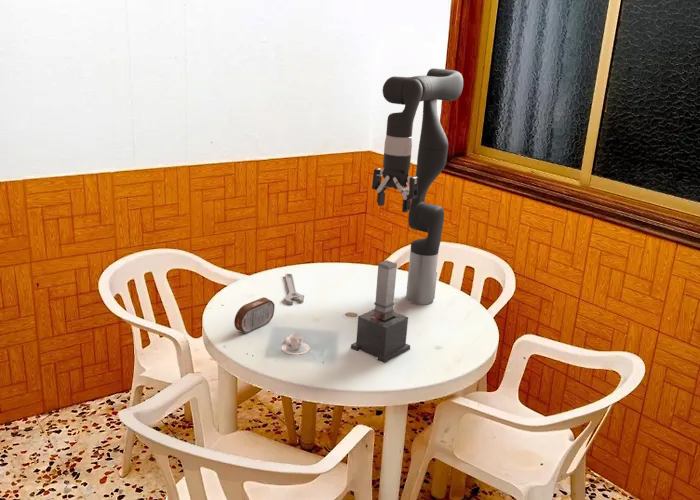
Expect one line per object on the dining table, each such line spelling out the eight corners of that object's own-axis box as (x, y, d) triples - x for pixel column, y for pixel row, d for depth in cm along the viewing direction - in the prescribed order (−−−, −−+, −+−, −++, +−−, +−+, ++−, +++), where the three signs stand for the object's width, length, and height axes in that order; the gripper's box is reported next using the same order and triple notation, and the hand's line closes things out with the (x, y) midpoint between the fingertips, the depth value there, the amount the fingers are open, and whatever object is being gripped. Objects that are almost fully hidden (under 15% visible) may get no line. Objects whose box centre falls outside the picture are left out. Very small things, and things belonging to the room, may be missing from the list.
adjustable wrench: (284, 277, 239) (284, 272, 239) (302, 278, 240) (302, 273, 240) (284, 305, 216) (284, 300, 215) (304, 306, 216) (304, 301, 216)
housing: (377, 335, 199) (379, 300, 195) (410, 349, 192) (413, 313, 188) (350, 348, 190) (353, 312, 186) (384, 363, 183) (387, 326, 179)
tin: (268, 318, 205) (269, 293, 203) (276, 321, 204) (276, 296, 201) (233, 334, 194) (233, 308, 191) (241, 338, 192) (241, 311, 189)
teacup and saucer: (283, 340, 193) (284, 327, 191) (311, 342, 193) (311, 329, 191) (279, 355, 185) (279, 341, 183) (308, 357, 184) (308, 343, 183)
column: (381, 322, 191) (386, 259, 185) (392, 326, 189) (397, 263, 183) (372, 326, 188) (377, 263, 182) (383, 331, 186) (389, 267, 180)
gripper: (426, 154, 183) (421, 212, 188) (385, 146, 192) (381, 201, 197) (410, 158, 178) (405, 216, 183) (369, 149, 186) (365, 205, 191)
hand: (392, 208), depth 190 cm, fingers open, 8 cm apart
